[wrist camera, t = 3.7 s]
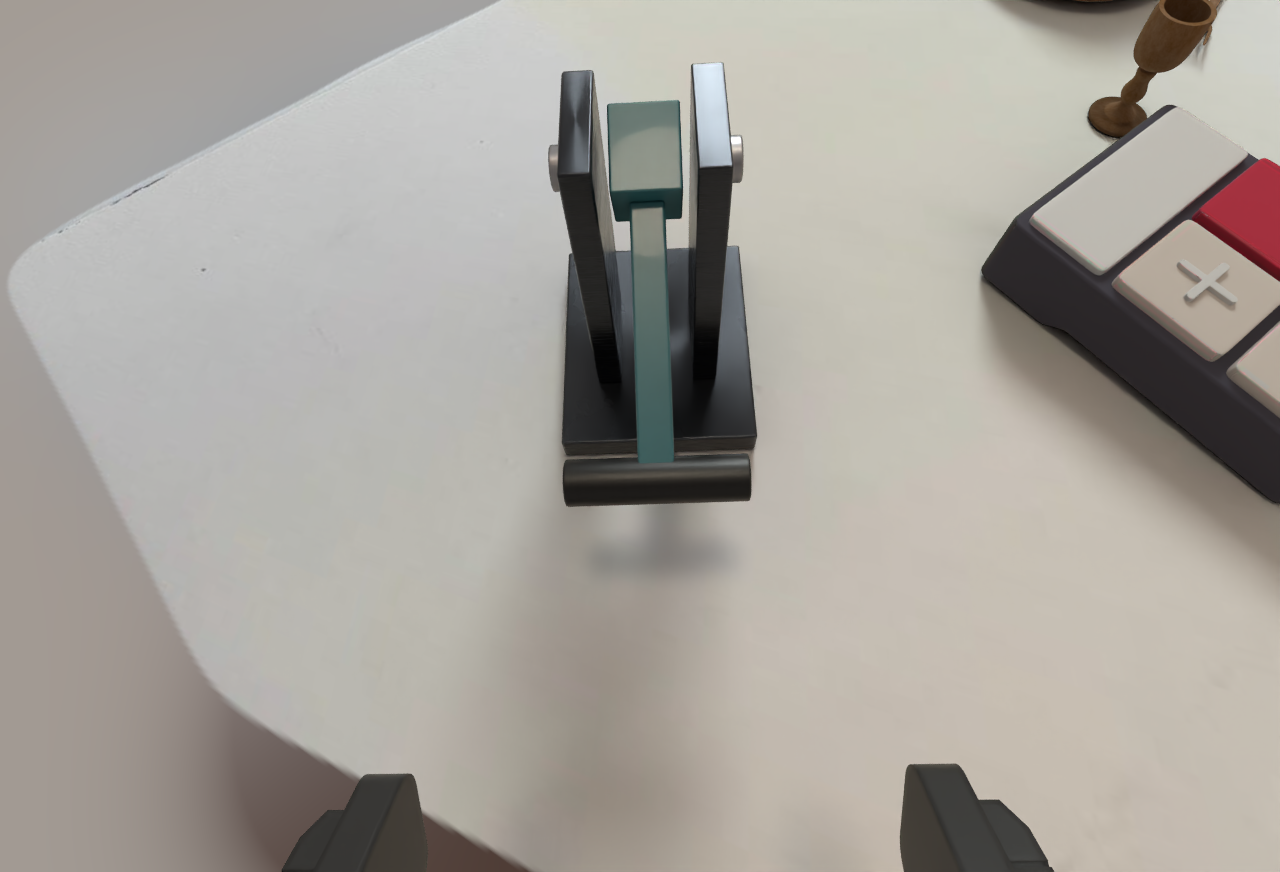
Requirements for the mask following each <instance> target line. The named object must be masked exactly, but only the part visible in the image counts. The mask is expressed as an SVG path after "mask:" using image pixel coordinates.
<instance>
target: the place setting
mask: <svg viewBox="0 0 1280 872" xmlns="http://www.w3.org/2000/svg"><path fill="white" fill-rule="evenodd" d="M1074 1H1089V2H1096V1H1111V0H1074ZM1220 1H1221V0H1210V1H1209V0H1160V1H1159V2H1158V4H1157V5H1156V7H1155V8H1154V10H1153V12H1152V13H1151V15H1150V17H1149V18H1148V20H1147V22H1146V23H1145V25H1144V27H1143V29H1142V31H1141V33H1140V35H1139V37H1138V39H1137V41H1136V44H1135V47H1134V59H1135V62H1136V63H1137V64H1138V66H1139V68H1138V69H1137V72H1136V75H1135V76H1134V78H1133V79H1132V80H1130V81H1129V82H1128V83H1127V84H1126V85H1125V86H1124V87H1123V89H1122V91H1121V97H1105V98H1101V99H1099V100H1097V101H1095V102H1094V103H1093V104H1092V105H1091V107H1090V109H1089V112H1088V116H1089V120H1090V122H1091V123H1092V125H1093V126H1094V127H1095V128H1097V129H1098V130H1099V131H1101V132H1103V133H1105V134H1108V135H1111V136H1115V137H1123V136H1124V135H1126V134H1127V133H1128V132H1130V131H1131V130H1132V129H1134V128H1135V127H1136V126H1138V125H1139V124H1141V123H1142V122H1143V121H1145V120H1146V119H1147V115H1146V113H1145V111H1144V110H1143V109H1142V108H1141V107H1140V106H1139V105H1138V104H1136V102H1138V101H1140V100H1141V99H1142V98H1143V97H1144V96H1145V94H1146V92H1147V87H1148V83H1149V81H1150V80H1151V79H1152V78H1153V77H1154V76H1155V75H1156V73H1161V72H1166V71H1169V70H1172V69H1174V68H1175V67H1177V66H1178V65H1180V64H1181V63H1182V62H1183V61H1184V60H1185V59H1186V58H1187V57H1188V56H1189V54H1190V53H1191V52H1192V51H1193V49H1194V48H1195V47H1196V45H1197V44H1198V43H1199V41H1200V40H1201V39H1202V37H1203V36H1204V34H1205V33H1206V32H1207V35H1206V37H1205V39H1204V42H1203V45H1205V44H1206V42H1207V41H1208V38H1209V36H1210V34H1211V32H1212V26H1211V24H1212V23H1213V21H1214V19H1215V18H1216V15H1217V10H1216V8H1217V6H1218V4H1219V2H1220Z"/></svg>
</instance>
